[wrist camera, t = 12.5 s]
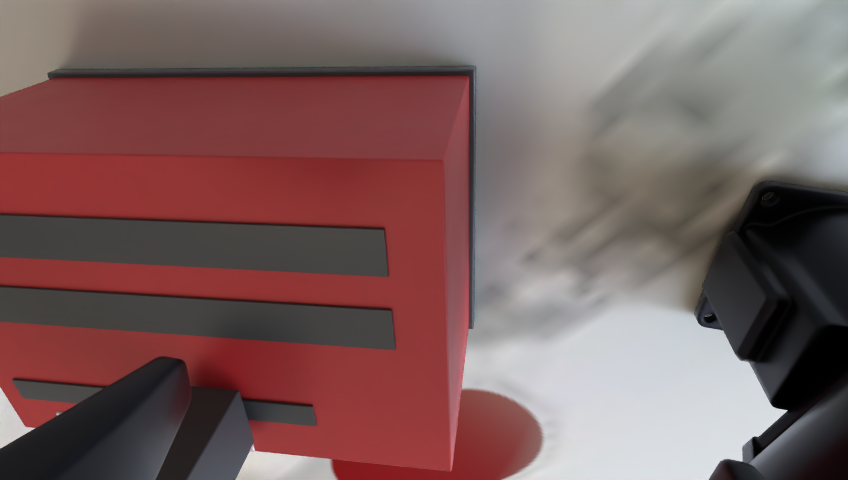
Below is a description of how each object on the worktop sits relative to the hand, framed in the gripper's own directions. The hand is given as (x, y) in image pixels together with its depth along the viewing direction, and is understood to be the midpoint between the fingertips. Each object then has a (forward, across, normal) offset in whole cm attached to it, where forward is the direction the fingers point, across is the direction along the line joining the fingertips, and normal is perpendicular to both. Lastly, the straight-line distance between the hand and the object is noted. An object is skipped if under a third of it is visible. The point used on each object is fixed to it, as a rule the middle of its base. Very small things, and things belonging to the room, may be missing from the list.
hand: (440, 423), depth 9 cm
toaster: (+13, +8, +4) cm, 16 cm away
